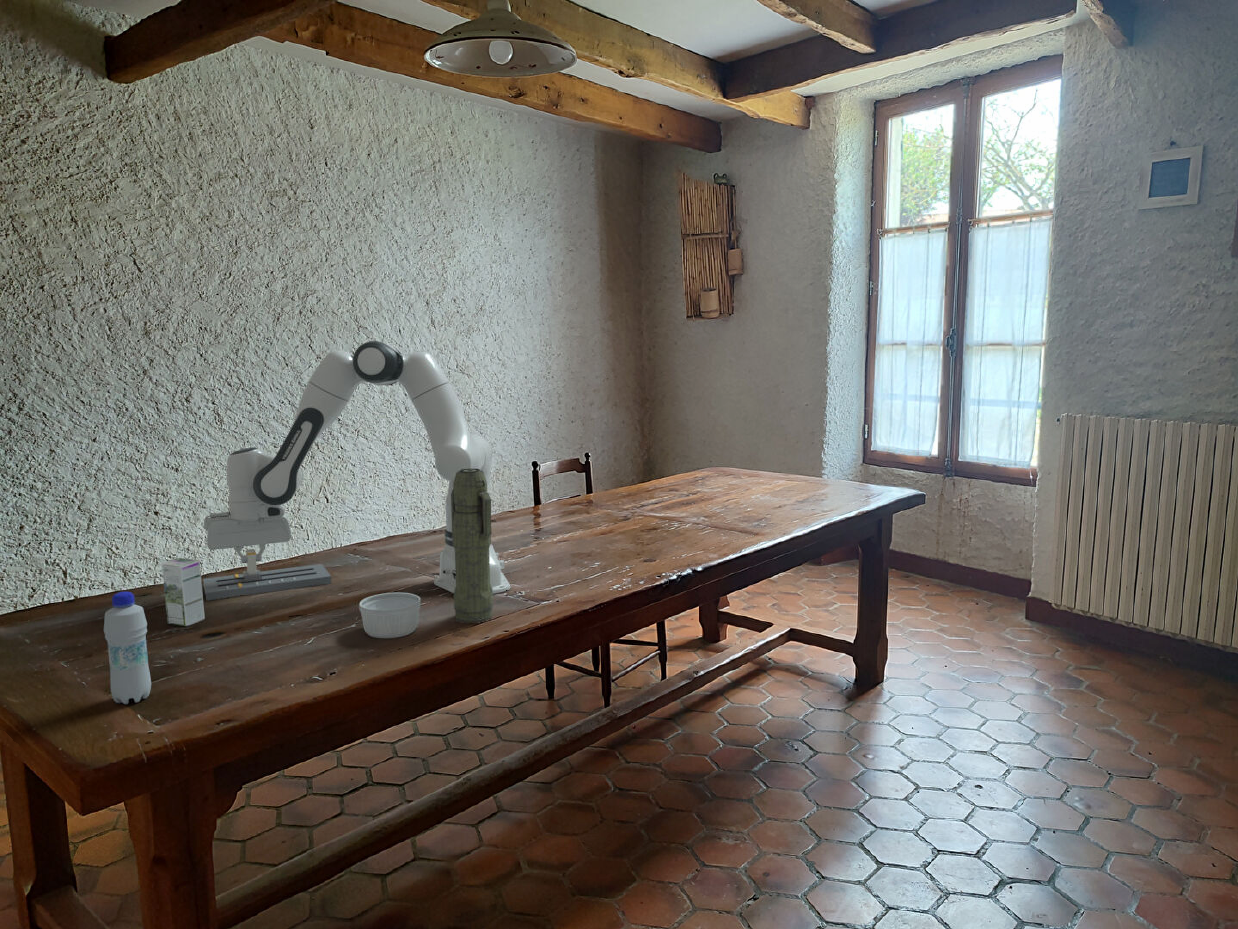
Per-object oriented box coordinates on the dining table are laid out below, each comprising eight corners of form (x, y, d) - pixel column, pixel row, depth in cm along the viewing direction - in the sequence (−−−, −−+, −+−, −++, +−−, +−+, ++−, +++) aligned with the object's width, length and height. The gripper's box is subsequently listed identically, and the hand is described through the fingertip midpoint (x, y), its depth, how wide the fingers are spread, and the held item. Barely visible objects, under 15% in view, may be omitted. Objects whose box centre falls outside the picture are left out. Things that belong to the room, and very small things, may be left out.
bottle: (122, 692, 153) (112, 587, 150) (160, 690, 153) (151, 586, 150) (103, 707, 146) (92, 598, 143) (142, 706, 147) (132, 597, 144)
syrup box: (206, 619, 193) (201, 558, 190) (185, 627, 187) (180, 565, 185) (186, 616, 194) (182, 556, 192) (165, 624, 189) (160, 562, 187)
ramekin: (398, 617, 194) (397, 588, 193) (434, 629, 186) (433, 599, 185) (348, 632, 184) (347, 602, 183) (384, 645, 176) (382, 614, 175)
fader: (261, 579, 216) (260, 551, 215) (245, 581, 214) (243, 553, 213) (259, 574, 220) (257, 547, 219) (243, 577, 219) (241, 549, 217)
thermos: (481, 627, 187) (477, 474, 181) (442, 618, 193) (437, 470, 187) (506, 616, 194) (502, 469, 189) (467, 608, 200) (463, 465, 195)
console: (331, 583, 221) (331, 575, 220) (206, 600, 206) (205, 591, 206) (322, 570, 233) (321, 562, 232) (203, 586, 218) (202, 577, 218)
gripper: (203, 516, 207) (208, 570, 209) (290, 508, 217) (293, 559, 219) (202, 512, 212) (206, 564, 214) (287, 504, 222) (290, 554, 224)
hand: (251, 561), depth 217 cm, fingers closed on fader, 2 cm apart
